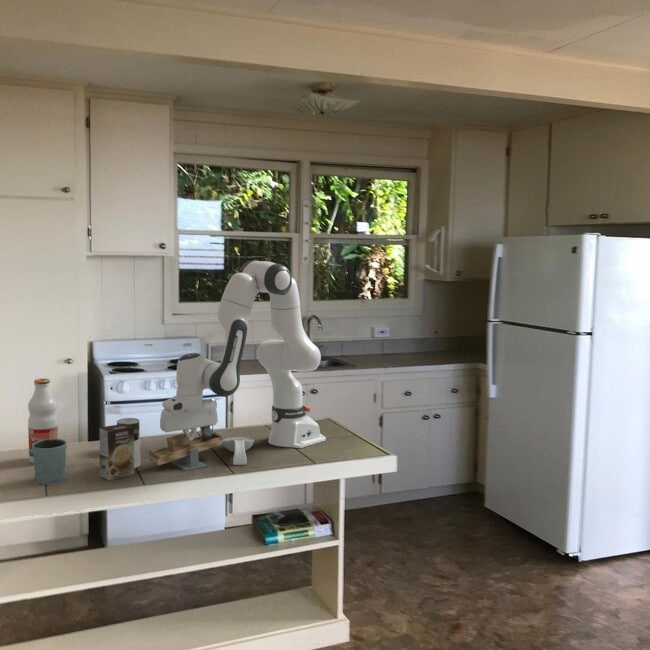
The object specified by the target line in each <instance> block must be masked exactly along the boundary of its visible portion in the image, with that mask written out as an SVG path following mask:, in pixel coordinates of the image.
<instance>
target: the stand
mask: <svg viewBox="0 0 650 650" xmlns="http://www.w3.org/2000/svg"><path fill="white" fill-rule="evenodd" d="M170 463H171V464H173V465H174V466H176V467H178V468H179V469H181V470H182V471H184V472H187V471H191V470H192V471H193V470H196V469H202V468H206V467H207V464H205V463H204V462H202V461H201V460H199V452H198V449H197V448H195V449H190V450H189V455H188V456H185V457H182V458H179V459H176V460H173V461H170Z"/></svg>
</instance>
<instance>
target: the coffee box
mask: <svg viewBox="0 0 650 650" xmlns="http://www.w3.org/2000/svg"><path fill="white" fill-rule="evenodd" d="M133 475H135V468H134V427H133V426H131V425H128V424H118V425H117V424H113V425H112V424H111V425H107V426H101V427H99V476H100V477H101V478H103V479H105V480H107V481H113V480H117V479H121V478H126V477H129V476H133Z"/></svg>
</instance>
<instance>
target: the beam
mask: <svg viewBox="0 0 650 650" xmlns="http://www.w3.org/2000/svg"><path fill="white" fill-rule="evenodd" d="M222 440H223V438H222V435H221V434H219V433H217V432H215V431H214V439H211V440H208V441H202V439H201V435H200V436H197V437H193V441H190V447H187V448H184V449H181V450H178V451H174V452H172V451H170V450H169V449H168V445H167V446H164V447H162V448H158V449H156V450H155V449H154V450H148V455H149V456H148V457H149V460H150V461H151V462H153V463H154V464H155V465H157V466H160V465H165V464H168V463H169V462H170V461H173V460H176V459H179V458H182V457H185V456H188V455H189V450H190V449H195V448H197V449H198V453H201V452H203V451H205V450H209V449H212V448H215V447H218V446H221V445H223V443H222ZM170 463H171V462H170Z"/></svg>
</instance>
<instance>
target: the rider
mask: <svg viewBox="0 0 650 650" xmlns="http://www.w3.org/2000/svg"><path fill="white" fill-rule="evenodd" d="M166 442H167V446H168V449H169V450H170V451H172V452H174V451H178V450H181V449H184V448H187V447H190V441H189V436H187V435H185V434H184V433H183V432H182V433H180V434H177V435H176V434H175V435H173V436H170V437H167V438H166Z"/></svg>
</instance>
